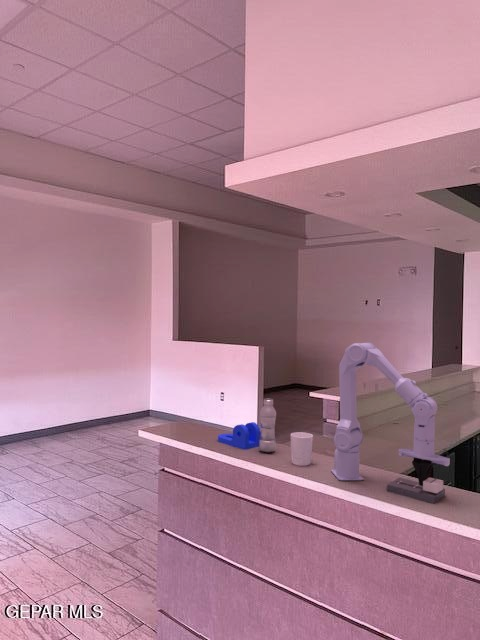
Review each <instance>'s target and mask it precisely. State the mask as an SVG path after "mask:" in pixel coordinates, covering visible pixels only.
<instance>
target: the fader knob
mask: <svg viewBox="0 0 480 640" xmlns="http://www.w3.org/2000/svg"><path fill="white" fill-rule="evenodd" d="M443 488H444V480H441V479H438V478H433V477H430V476H429V477H427V479H426V480H425V481H423V490H425V491H429V492H433V493H438V492H440V491H441V490H443Z"/></svg>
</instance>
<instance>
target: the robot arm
mask: <svg viewBox="0 0 480 640" xmlns="http://www.w3.org/2000/svg"><path fill="white" fill-rule="evenodd" d="M364 365H366V366H372V367H375V368H377V370H379V372H381V374H383V375H384V376H385V377H386V378H387V379H388V380H389V381H390V382H391V383H392V384H394V392H396V393H397V395H398V396H399V397H400V398H401V399H402V400H403V401H404V402H405V403H406V404H407V405H408V406H409V407H410V408H411V413H412V415H413V416H414V422H413V449H409V448H408V449H407V448H399V449H398V456H399V457H405V458H411V459H413V460H412V462H411V463H412V466H413V468H414V470H415V472H416V475H417V479H418V482H419V485H421V486H423V481H425V480H426V479H428V478H429V477H428V476H429V474H430V472H431V470H432V469H433V466H434V464H437V465H442V466H444V467H449V466H450V464H451V463H450V461H451V458H449V457H445V456H443V455H438V454H436V453H435V437H436V436H435V434H436V433H435V431H436V423H435V422H436V419H435V418H436V416H435V415H436V414H437V412H438V409H439V407H438V404H437V402H436V400H435V399H434V398H433V397H431V396H429V395H428V393H426V392H424V391H422V389H420V387H418V385H416V384H417V382H416V381H415V380H414V379H412V380H411V379H410V378H409V377H408V378H407V377H403V375H401V373H400V372H399V371H398V370H397V369H396V367H395V366H394V365H392V363H391V362H390V361H389V360H388V359H387V358H386V357H385V355H384V354H383V352H382V351H381V350H380V349H379V348H377V346H375V345H374V344H373V343H371V342H369V341H368V342H367V341H366V342H363V343H362V342H360V343H359V342H355V343H351V344H350V345H349V346H348V347H346V348H345V350H344V354H343V356H342V359H341V360H340V362H339V366H338V375H339V377H338V379H339V384H338V385H339V422H338V423H337V425H336V427H335V433H334V437H333V443H334V446H335V447H336V449H335V450H334V454H333V455H334V456H333V458H334V459H333V462H334V463H333V469H331V471H330V472H331V473H332V474H333V475H334V476H335V477H336V478H337V480H338V481H364V478H363V477H362V476H361V475H360V455H361V454H360V453H361V452H360V450H361V449H360V445H361V444H362V443H363V441H364V434H363V431H362V429H361V423H360V422H359V420H358V405H357V403H358V402H357V371H358V370H359V369H360V368H362V367H363V366H364Z"/></svg>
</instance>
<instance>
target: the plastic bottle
mask: <svg viewBox="0 0 480 640" xmlns="http://www.w3.org/2000/svg"><path fill="white" fill-rule="evenodd" d="M262 403H263V406H262V408H261V409H260V411H259V420H260V440H259V446H258V449H259V450H260V452H263V453H273V452H274V451H275V450H276V445H277V444H276V437H275V429H276V428H275V426H276V419H277V411H276V409H275V407H274V399H273V398H263V402H262Z"/></svg>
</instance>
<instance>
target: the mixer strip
mask: <svg viewBox="0 0 480 640" xmlns="http://www.w3.org/2000/svg"><path fill="white" fill-rule="evenodd" d="M386 491H387V492H389V493H393V494H396V495H401V496H403V497H408V498H411V499H415V500H419V501H422V502H426V503H429V504H436V503H437V502H439V501H440V500H441V499H442V498H443V497H445V496H446V488H444V487H443V490H441V491H440V492H438V493H433V492H429V491H425V490H423V486H421V485H419V481H416V480H411V479H407V478H403V477H398V478H395V479H394V480H392V481H390V482H389V483H386Z"/></svg>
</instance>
